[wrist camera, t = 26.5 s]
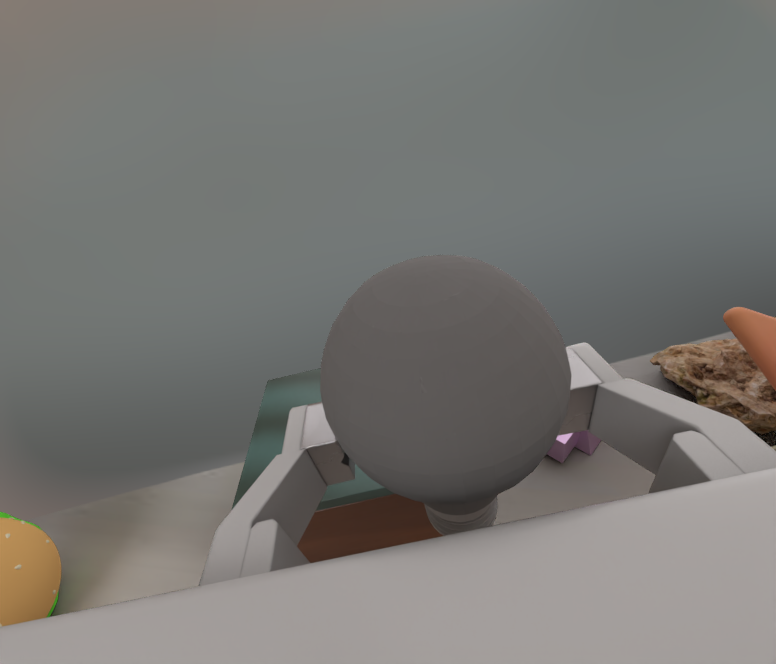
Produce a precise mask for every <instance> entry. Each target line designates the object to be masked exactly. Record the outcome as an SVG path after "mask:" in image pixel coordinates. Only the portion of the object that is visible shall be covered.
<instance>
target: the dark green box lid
mask: <svg viewBox="0 0 776 664" xmlns="http://www.w3.org/2000/svg"><path fill="white" fill-rule="evenodd" d="M320 378H321V368H319V369H315V370H311V371H306V372H303V373H298V374H294V375H289V376H285V377H281V378H276V379H273V380H269V381H268V382H267V385H266V389H265V392H264V396H263V399H262V403H261V407H260V410H259V414H258V418H257V421H256V424H255V428H254V432H253V435H252V439H251V442H250V446H249V450H248V453H247V457H246V460H245V464H244V467H243V471H242V475H241V478H240V482H239V485H238V489H237V492H236V496H235V500H234V503H233V507H232V509H233V508H234V507H235V505H236V504H237V503H238V502H239V501H240V499H241V498H242V497H243V496H244V494H245V493H246V492H247V491H248V489H249V488H250V487H251V486H252V485H253V483H254V482H255V481H256V480H257V478H258V477H259V476H260V475H261V474H262V472H263V471H264V470H265V469H266V467H267V466H268V465H269V464H270V463H271V461H272V460H273V459H274V458H275V456H276V455H279V454H282V448H283V443H284V438H285V432H286V427H287V422H288V416H289V412H290V410H291V409H292V408H294V407H299V406H304V405H308V404H312V403H317V402H322V399H321V393H320ZM391 494H395V493H393V492H391V491H389V490H388V489H386V488H385V487H383V486H381V485H380V484H378V483H377V482H375V481H374V480H372V479H371V478H370V477H368V476H367V475H366V474H365V473H364V472H363V471H362V470H361V469H360V468H359V467H358V466H357V465H356V464H355V479H354V480H350V481H346V482H341V483H337V484H333V485H329V486H327V490H326V492H325V494H324V496H323V497H322V499H321V501H320V503H319V505H318V507H317V509H316V511H318V510H322V509H327V508H332V507H336V506H341V505H345V504H350V503H355V502H359V501H364V500H368V499H373V498H378V497H382V496H387V495H391Z"/></svg>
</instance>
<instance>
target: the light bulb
mask: <svg viewBox="0 0 776 664" xmlns="http://www.w3.org/2000/svg"><path fill="white" fill-rule="evenodd" d="M571 377H572V375H571V369H570V364H569V360H568V355H567V351H566V347H565V344H564V342H563V339H562V336H561V334H560V332H559V330H558V328H557V327H556V325H555V323H554V322H553V320H552V318H551V317H550V315H549V314H548V312H547V310H546V309H545V307H544V306H543V305H542V304H541V303H540V301H539V300H538V299H537V298H536V297H535V296H534V295H533V294H532V293H531V292H530V291H529V290H528V289H527V288H526V287H525V286H524V285H522V284H521V283H520V282H518V281H517V280H516V279H514V278H513V277H511V276H510V275H509V274H507V273H505V272H504V271H502V270H500V269H499V268H497V267H494V266H492V265H490V264H488V263H485V262H483V261H480V260H477V259H474V258H470V257H465V256H456V255H433V256H422V257H417V258H413V259H409V260H406V261H403V262H400V263H398V264H395V265H393V266H391V267H388V268H386V269H384V270H382V271H380V272H378V273H377V274H375V275H373V276H372V277H371V278H369V279H368V280H367V281H366V282H364V283H363V285H362V286H361V287H360V288H359V289H358V290H357V291H356V292H355V293H354V294H353V295H352V296H351V297H350V298H349V299H348V301H347V302H346V304H345V306H344V307H343V309H342V310H341V312H340V314H339V315H338V317H337V319H336V320H335V322H334V323H333V325H332V328H331V331H330V333H329V336H328V339H327V342H326V345H325V348H324V352H323V357H322V362H321V378H320V393H321V399H322V404H323V408H324V412H325V416H326V420H327V422H328V424H329V426H330V428H331V430H332V432H333V434H334V435H335V437H336V439H337V441H338V442H339V444H340V446H341V447H342V449H343V450H344V452H345V453H346V454H347V456H348V457H349V458H350V459H351V460H352V461H353V462H354V463H355V464H356V465H357V466H358V467H359V468H360V469H361V470H362V471H363V472H364V473H365V474H366V475H367V476H368V477H370V478H371V479H372V480H374V481H375V482H377V483H378V484H380V485H381V486H383V487H385V488H386V489H388V490H389V491H391V492H393V493H395V494H398V495H400V496H403V497H406V498H409V499H411V500H414V501H419V502H422V503H424V505H425V509H426V512H427V516H428V518H429V520H430V522H431V524H432V525H433V527H434V528H435V529H436V530H437V531H438V532H439V533H440V534H442V535H443V536H446V535H450V534H455V533H460V532H465V531H470V530H475V529H480V528H484V527H489V526H492V525H493V523H494V521H495V519H496V514H497V495H498V494H499V493H501V492H503V491H505V490H507V489H509V488H511V487H514V486H515V485H516V484H518V483H519V482H520V481H521V480H523V479H524V478H525V477H526V476H528V475H529V474H530V473H531V472H533V470H534V469H535V468H536V467H537V466H538V464H539V463H540V462H541V460H542V459H543V458H544V456H545V455H546V454H547V453H548V451H549V450H550V449H551V447H552V446H553V444H554V443H555V441H556V439H557V436H558V434H559V431H560V429H561V426H562V424H563V421H564V419H565V416H566V413H567V411H568V405H569V398H570V388H571Z"/></svg>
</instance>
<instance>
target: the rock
mask: <svg viewBox="0 0 776 664" xmlns="http://www.w3.org/2000/svg"><path fill="white" fill-rule="evenodd" d="M774 318H776V316H775V317H774ZM650 362H651V363H652V364H653V365H661V366H660V369H661V372H662V373H663V375H664V377H666V378H668V379H670V380H671V381H673V382H675V383H676V384H677V385H679V386H682V387H683V388H684V389H685V390H686V391H690V392H691V393H692V395H693V396H695V398H696V399H697V403H698V405H701V406H704V407H706V408H709V409H711V410H714V411H717V412H719V413H722V414H725V415H727V416H730V417H732V418H735V419H738V420H739V421H740V422H741V423H742V424H744V425H745V426H746V427H747V428H748V429H750V430H751V431H755V432H757V433H760V434H763V433H767V432H770V431H776V391H775V389H774V388H773V387H772V385H771V384H770V383H769V381H768V380H767V378H766V377H765V376H764V374H763V373H762V372H761V370H760V369H759V368H758V366H757V365H756V364H755V362H754V361H753V360H752V358H751V357H750V355H749V354H748V353H747V351H746V350H745V349H744V347H743V346H742V345H741V343H740V342H739V341H738V339H737V338H736V339H731V340H729V339H725V340H712V341H706V342H703V343H700V344H697V345H695V344H690V343H688V344H683V345H676V346H675V345H674V346H669V347H668V348H667V349H665V350H664V351H662V352H659V353H657V354H656V355H655V356H653V358H652V359H651V360H650Z"/></svg>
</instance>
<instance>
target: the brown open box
mask: <svg viewBox="0 0 776 664" xmlns="http://www.w3.org/2000/svg"><path fill="white" fill-rule="evenodd" d="M441 536H443V535H442V534H440V533H439V532H438V531H437V530H436V529H435V528H434V527H433V525H432V524H431V522H430V520H429V518H428V516H427V512H426V509H425V505H424V503H422V502H419V501H414V500H411V499H409V498H406V497H403V496H400V495H398V494H391V495H387V496H382V497H378V498H373V499H368V500H364V501H359V502H355V503H350V504H345V505H341V506H336V507H332V508H327V509H322V510H318V511H315V513H314V514H313V516H312V518H311V520H310V522H309V524H308V526H307V528H306V530H305V532H304V533H303V535H302V537H301V539H300V541H299V543H298V545H297V547H298V548H299V550H300V551H301V552H302V553H303V555H304V556H305V557H306V558H307V559H308V561H309V562H310V563H315V562H319V561H324V560H329V559H334V558H339V557H344V556H349V555H353V554H358V553H363V552H368V551H373V550H378V549H383V548H387V547H392V546H397V545H402V544H407V543H412V542H417V541H421V540H426V539H431V538H436V537H441Z"/></svg>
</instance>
